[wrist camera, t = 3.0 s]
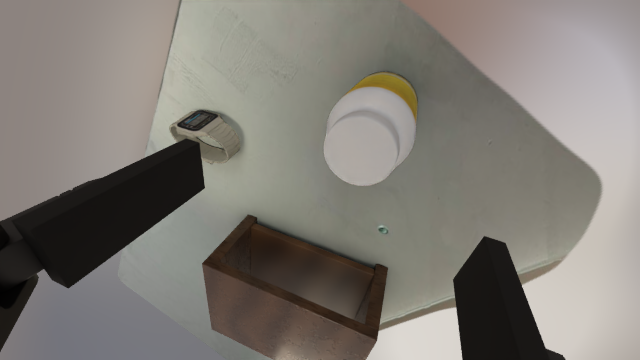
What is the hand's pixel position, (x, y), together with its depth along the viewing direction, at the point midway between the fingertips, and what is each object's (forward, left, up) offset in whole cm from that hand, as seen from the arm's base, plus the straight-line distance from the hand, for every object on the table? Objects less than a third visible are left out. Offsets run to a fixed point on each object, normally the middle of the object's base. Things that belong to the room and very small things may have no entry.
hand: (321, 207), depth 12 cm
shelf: (+3, +28, -17) cm, 33 cm away
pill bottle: (-1, -1, -17) cm, 17 cm away
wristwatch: (+19, +8, -17) cm, 27 cm away
